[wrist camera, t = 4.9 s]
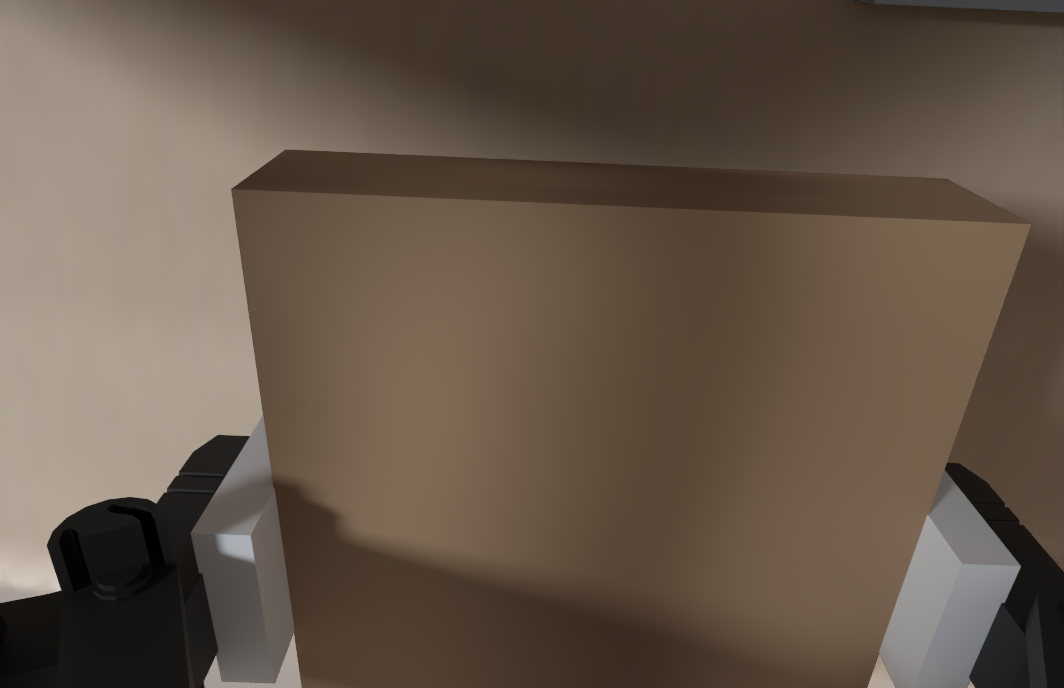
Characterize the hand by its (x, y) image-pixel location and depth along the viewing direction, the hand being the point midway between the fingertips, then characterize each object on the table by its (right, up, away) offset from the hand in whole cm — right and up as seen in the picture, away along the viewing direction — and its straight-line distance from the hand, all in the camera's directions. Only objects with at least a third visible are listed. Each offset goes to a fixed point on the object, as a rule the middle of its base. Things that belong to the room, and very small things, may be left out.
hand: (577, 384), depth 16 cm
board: (0, -2, -3) cm, 4 cm away
